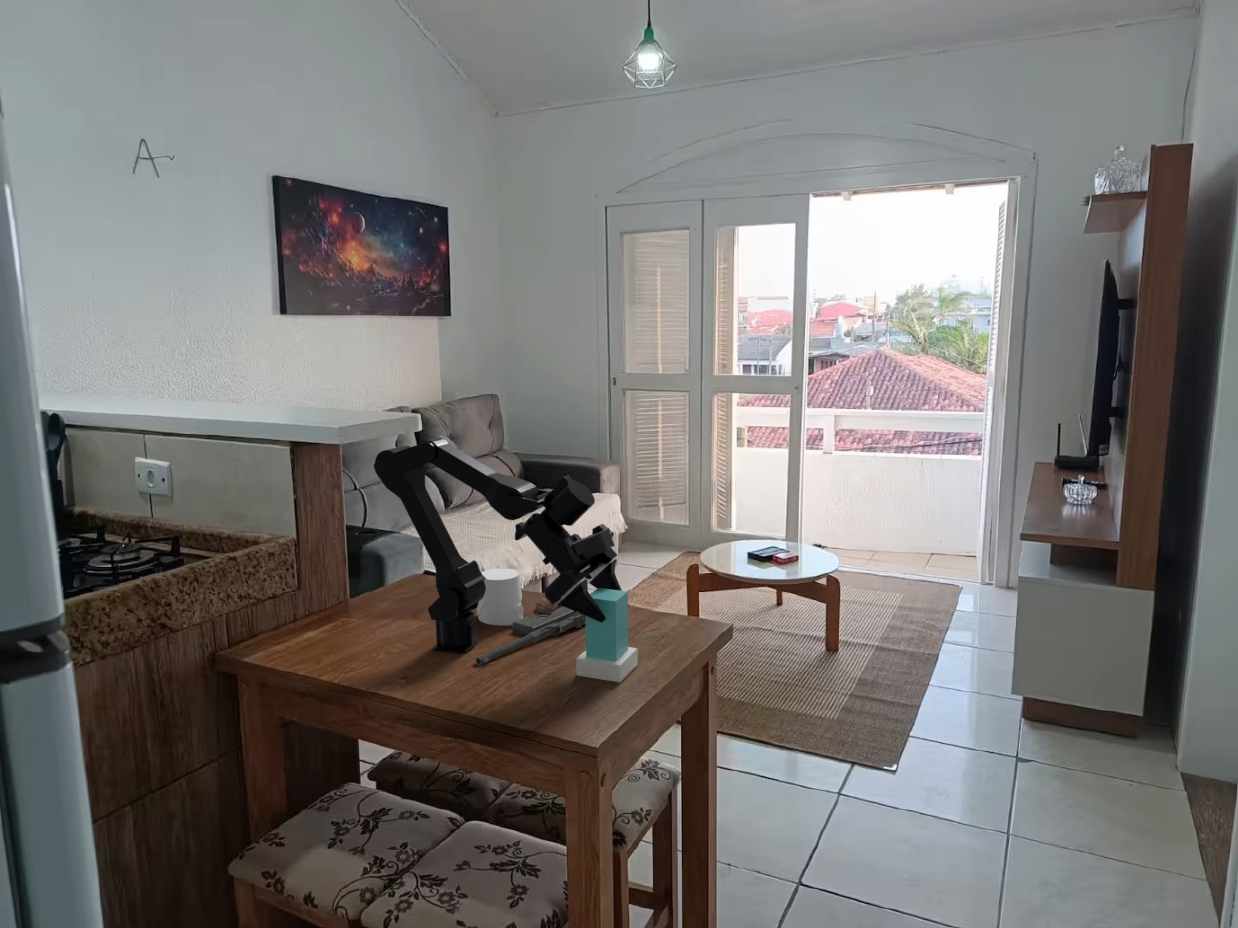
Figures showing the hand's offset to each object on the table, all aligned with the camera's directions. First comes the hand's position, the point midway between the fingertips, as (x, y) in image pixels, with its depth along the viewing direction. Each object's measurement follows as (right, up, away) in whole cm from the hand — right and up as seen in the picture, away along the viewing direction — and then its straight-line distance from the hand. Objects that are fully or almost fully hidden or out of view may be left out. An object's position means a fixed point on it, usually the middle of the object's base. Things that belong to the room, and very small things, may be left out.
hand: (614, 611), depth 148 cm
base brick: (-1, -10, +2) cm, 11 cm away
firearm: (-18, -8, +20) cm, 28 cm away
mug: (-24, -6, +28) cm, 38 cm away
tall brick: (-1, -7, +2) cm, 8 cm away
